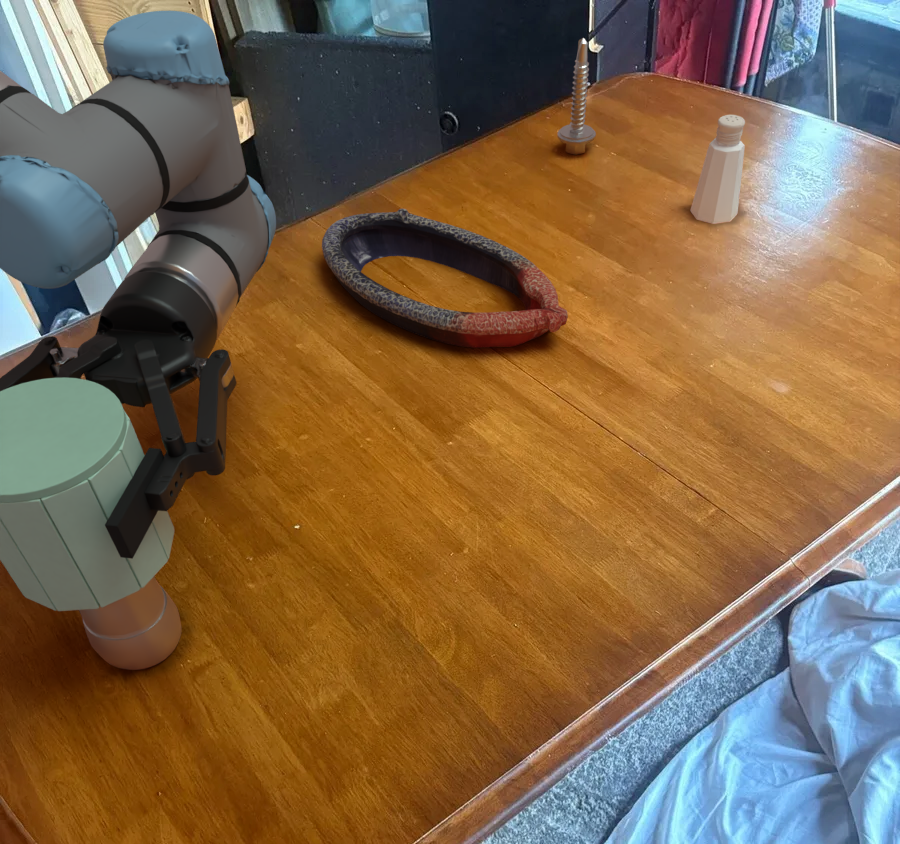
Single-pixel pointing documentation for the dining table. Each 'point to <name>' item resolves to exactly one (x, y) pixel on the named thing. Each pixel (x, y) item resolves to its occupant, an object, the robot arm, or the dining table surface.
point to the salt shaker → (721, 174)
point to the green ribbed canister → (70, 495)
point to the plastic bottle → (135, 628)
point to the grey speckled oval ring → (452, 247)
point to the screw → (578, 107)
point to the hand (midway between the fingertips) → (28, 532)
